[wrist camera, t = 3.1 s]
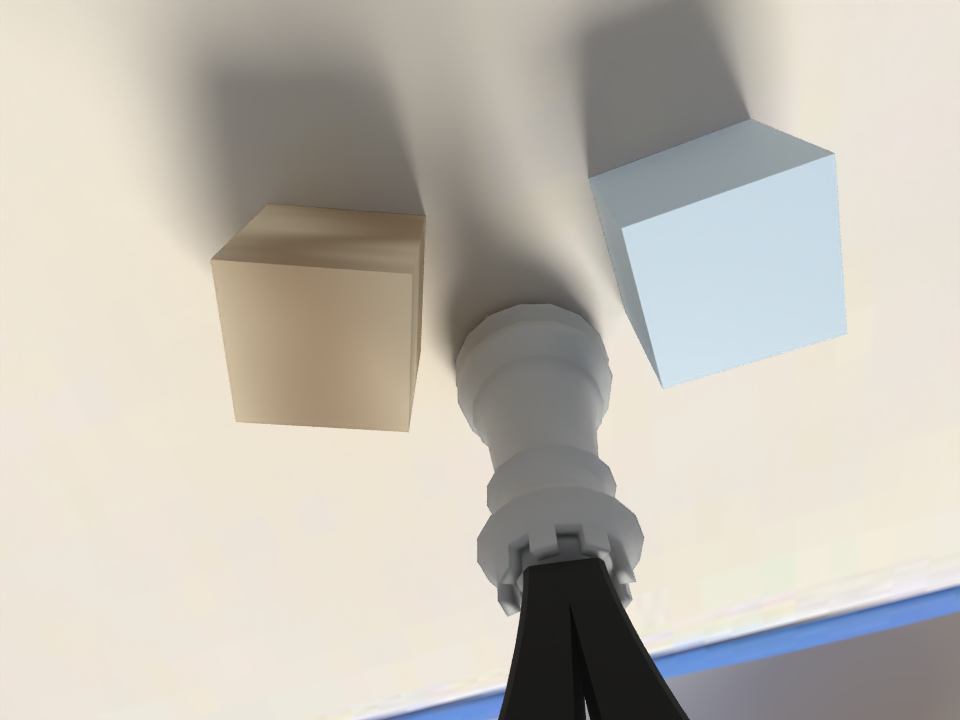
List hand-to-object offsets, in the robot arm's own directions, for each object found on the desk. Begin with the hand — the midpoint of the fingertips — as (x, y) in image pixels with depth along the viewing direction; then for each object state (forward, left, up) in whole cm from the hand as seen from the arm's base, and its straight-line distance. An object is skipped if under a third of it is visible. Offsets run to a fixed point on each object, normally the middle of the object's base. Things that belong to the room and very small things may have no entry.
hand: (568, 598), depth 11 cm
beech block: (+5, -4, -8) cm, 10 cm away
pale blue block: (-4, -4, -8) cm, 10 cm away
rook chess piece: (0, 0, -8) cm, 8 cm away
